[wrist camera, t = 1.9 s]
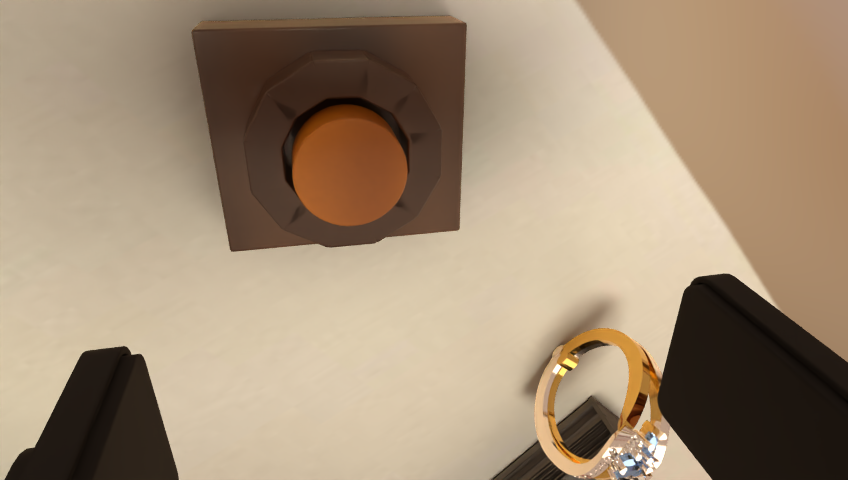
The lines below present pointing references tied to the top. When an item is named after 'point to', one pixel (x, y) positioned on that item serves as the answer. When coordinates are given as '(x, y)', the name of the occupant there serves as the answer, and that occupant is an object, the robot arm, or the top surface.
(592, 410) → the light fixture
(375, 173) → the power button
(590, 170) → the top surface
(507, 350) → the top surface
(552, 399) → the ring
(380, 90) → the switch block
